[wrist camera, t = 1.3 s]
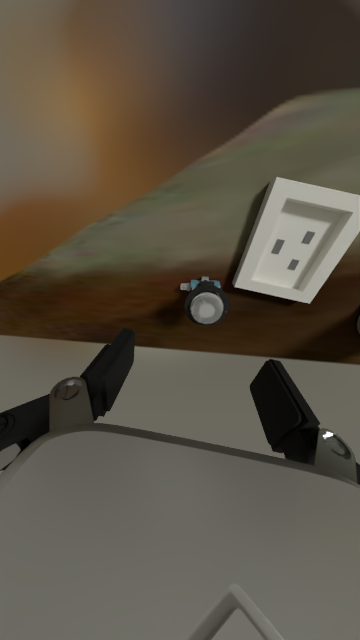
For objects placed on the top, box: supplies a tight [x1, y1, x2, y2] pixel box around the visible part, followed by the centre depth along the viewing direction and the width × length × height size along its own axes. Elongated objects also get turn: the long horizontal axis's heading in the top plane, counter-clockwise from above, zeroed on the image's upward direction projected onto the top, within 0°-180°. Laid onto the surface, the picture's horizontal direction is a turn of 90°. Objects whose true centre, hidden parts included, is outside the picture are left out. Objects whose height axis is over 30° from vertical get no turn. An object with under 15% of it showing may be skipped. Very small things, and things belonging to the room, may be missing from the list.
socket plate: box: [232, 177, 360, 304], centre depth 21 cm, size 12×13×2 cm
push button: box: [181, 277, 229, 326], centre depth 22 cm, size 7×5×10 cm
